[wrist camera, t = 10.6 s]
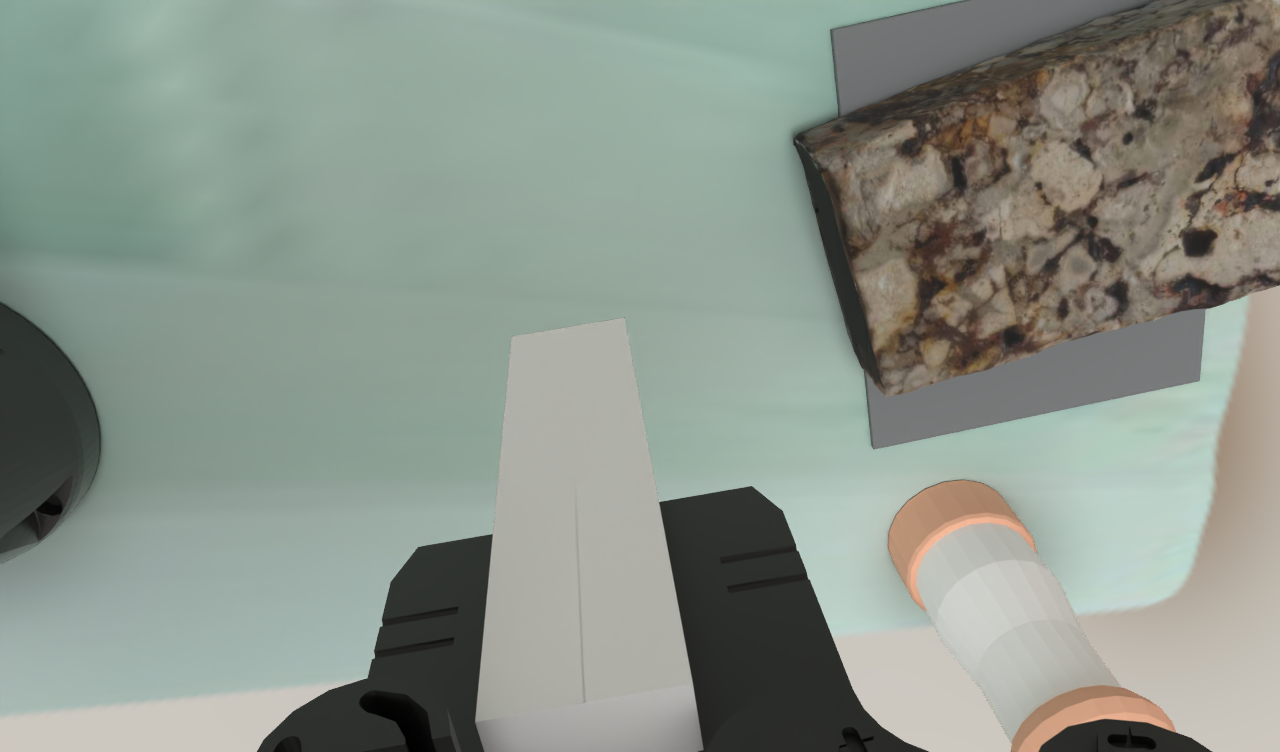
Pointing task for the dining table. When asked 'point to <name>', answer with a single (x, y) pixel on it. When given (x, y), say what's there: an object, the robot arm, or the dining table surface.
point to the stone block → (1056, 191)
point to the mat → (1058, 376)
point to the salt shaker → (1005, 615)
